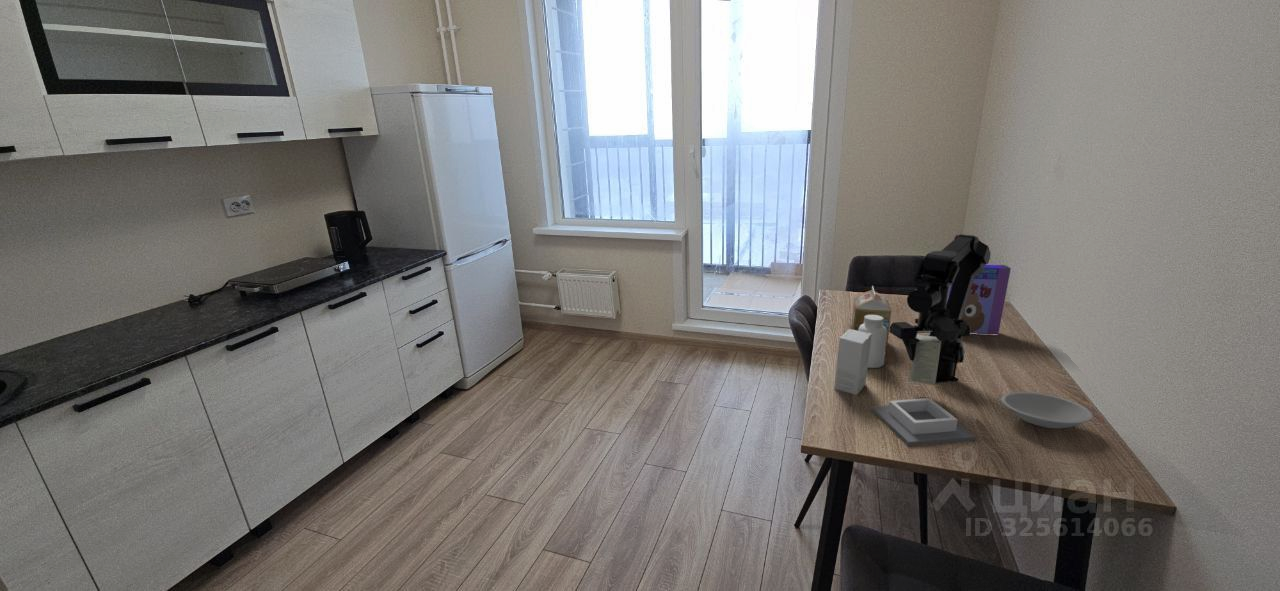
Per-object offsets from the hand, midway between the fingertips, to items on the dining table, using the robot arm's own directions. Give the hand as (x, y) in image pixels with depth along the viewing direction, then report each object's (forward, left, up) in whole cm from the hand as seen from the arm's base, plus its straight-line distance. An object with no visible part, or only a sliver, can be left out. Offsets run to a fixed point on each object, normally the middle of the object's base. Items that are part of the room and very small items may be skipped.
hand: (925, 359), depth 137 cm
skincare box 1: (+16, -7, -11) cm, 20 cm away
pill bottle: (+3, -21, -11) cm, 24 cm away
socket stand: (+9, +14, -10) cm, 20 cm away
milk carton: (-4, -35, -11) cm, 37 cm away
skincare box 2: (0, 0, -6) cm, 6 cm away
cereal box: (-43, -40, -11) cm, 60 cm away
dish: (-19, +18, -11) cm, 28 cm away
